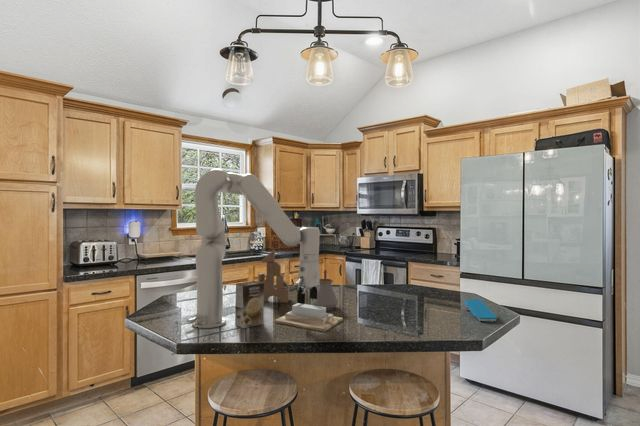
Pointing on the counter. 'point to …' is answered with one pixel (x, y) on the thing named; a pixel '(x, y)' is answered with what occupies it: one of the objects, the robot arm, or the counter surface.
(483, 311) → the blue block
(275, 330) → the counter surface
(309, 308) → the white block
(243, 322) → the coffee box
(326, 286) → the coffee pot
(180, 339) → the counter surface
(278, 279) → the wooden toy
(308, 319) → the cradle
